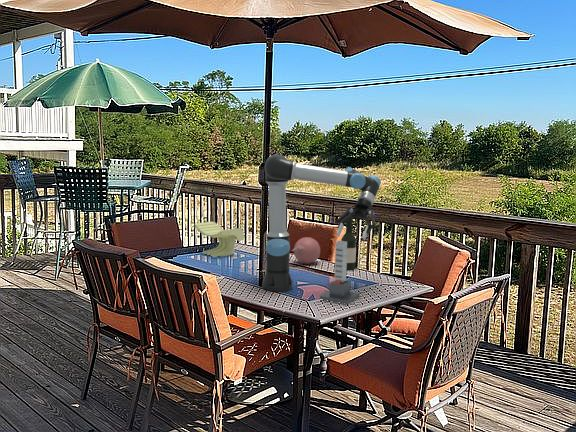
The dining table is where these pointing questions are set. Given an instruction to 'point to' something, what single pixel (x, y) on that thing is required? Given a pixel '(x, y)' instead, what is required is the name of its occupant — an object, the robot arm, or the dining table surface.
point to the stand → (340, 293)
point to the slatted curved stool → (220, 238)
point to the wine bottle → (350, 246)
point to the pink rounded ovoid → (306, 250)
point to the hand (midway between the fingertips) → (350, 236)
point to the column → (340, 261)
